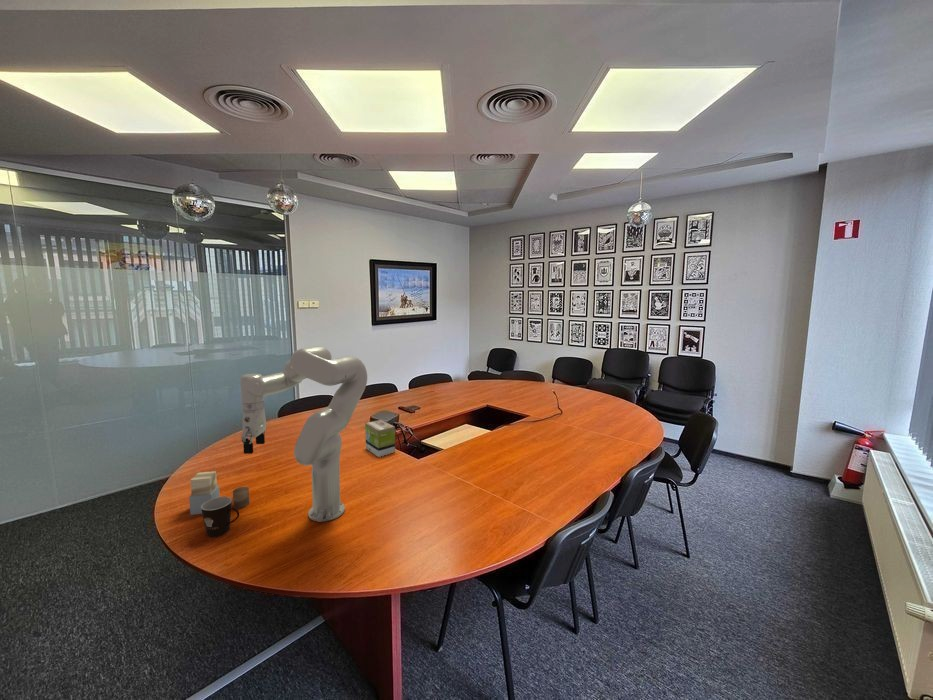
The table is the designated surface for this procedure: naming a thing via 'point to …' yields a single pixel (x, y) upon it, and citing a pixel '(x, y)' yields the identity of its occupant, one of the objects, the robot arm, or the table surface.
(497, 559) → the table surface
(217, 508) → the coffee mug
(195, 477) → the birch block
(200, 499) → the white box
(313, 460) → the robot arm
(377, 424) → the tea box
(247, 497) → the walnut cylinder
